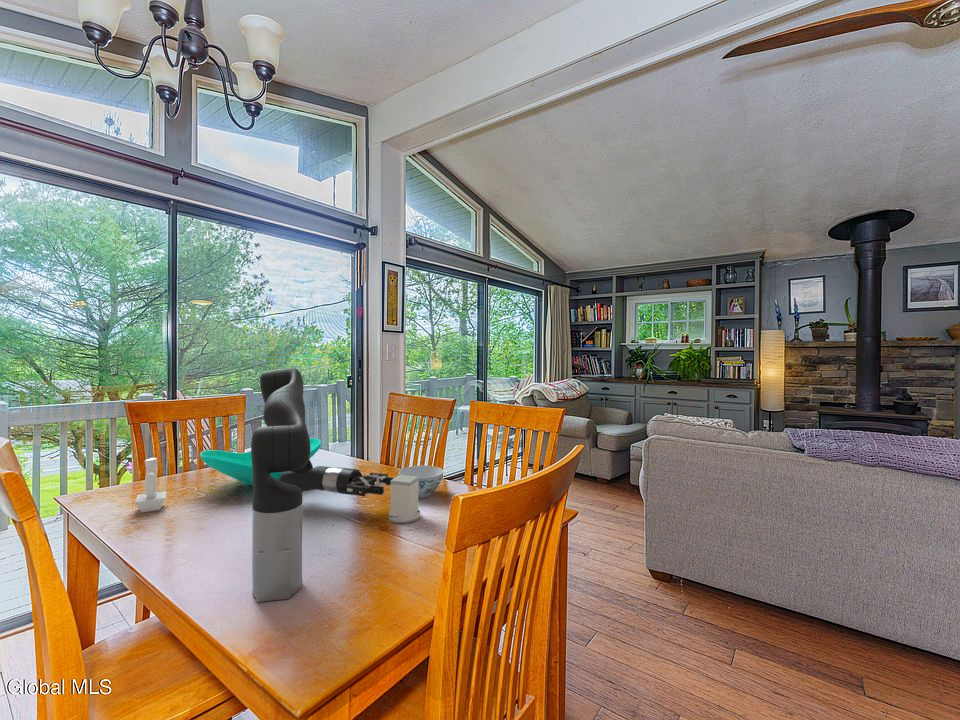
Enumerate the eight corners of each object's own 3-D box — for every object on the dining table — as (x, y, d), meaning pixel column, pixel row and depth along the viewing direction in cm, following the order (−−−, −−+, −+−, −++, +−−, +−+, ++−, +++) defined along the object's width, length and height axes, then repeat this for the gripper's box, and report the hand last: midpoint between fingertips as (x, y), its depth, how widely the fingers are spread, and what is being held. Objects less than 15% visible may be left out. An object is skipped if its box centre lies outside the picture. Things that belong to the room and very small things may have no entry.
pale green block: (409, 517, 127) (410, 482, 126) (390, 515, 128) (390, 480, 128) (418, 510, 132) (418, 476, 132) (399, 508, 134) (399, 474, 134)
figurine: (134, 516, 128) (133, 463, 128) (138, 505, 136) (137, 456, 136) (165, 511, 132) (164, 460, 132) (167, 501, 140) (167, 454, 140)
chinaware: (392, 490, 155) (393, 468, 155) (433, 485, 162) (434, 463, 161) (406, 504, 141) (406, 480, 141) (450, 497, 148) (450, 474, 148)
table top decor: (209, 506, 137) (209, 463, 136) (192, 484, 157) (191, 447, 157) (334, 482, 163) (335, 445, 163) (306, 466, 184) (306, 433, 183)
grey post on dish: (412, 525, 125) (412, 499, 125) (382, 521, 127) (383, 495, 127) (425, 514, 134) (425, 489, 133) (397, 510, 136) (397, 486, 136)
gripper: (328, 474, 129) (378, 480, 125) (355, 462, 143) (401, 467, 138) (327, 500, 129) (378, 507, 125) (355, 485, 143) (401, 491, 138)
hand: (390, 486), depth 132 cm, fingers open, 8 cm apart
